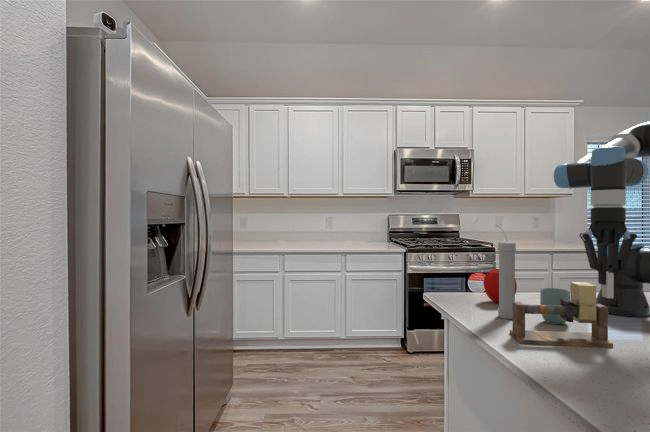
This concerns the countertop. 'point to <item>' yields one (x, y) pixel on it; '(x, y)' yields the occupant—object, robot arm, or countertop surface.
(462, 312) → the countertop surface
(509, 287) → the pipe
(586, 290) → the sleeve
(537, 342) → the rail
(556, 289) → the cup
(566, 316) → the dark grey square ring
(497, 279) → the tomato
